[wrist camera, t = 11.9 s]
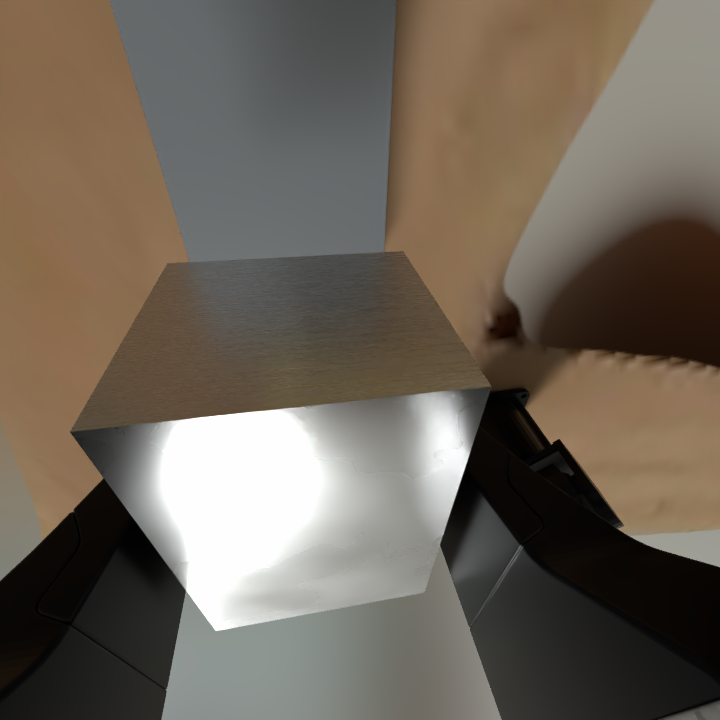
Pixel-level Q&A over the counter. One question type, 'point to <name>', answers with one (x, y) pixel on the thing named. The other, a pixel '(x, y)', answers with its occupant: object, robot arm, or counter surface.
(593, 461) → the counter surface
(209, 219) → the body
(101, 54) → the counter surface
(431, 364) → the lever cap
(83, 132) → the counter surface
